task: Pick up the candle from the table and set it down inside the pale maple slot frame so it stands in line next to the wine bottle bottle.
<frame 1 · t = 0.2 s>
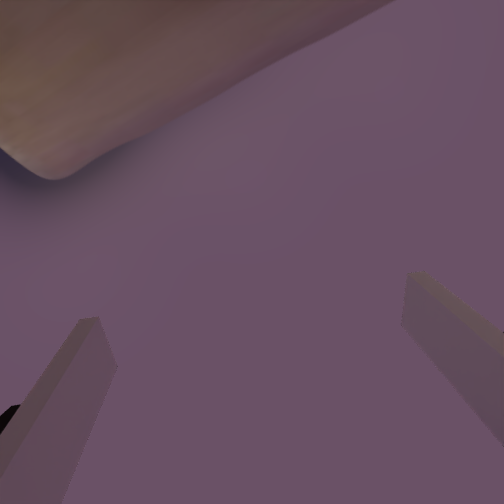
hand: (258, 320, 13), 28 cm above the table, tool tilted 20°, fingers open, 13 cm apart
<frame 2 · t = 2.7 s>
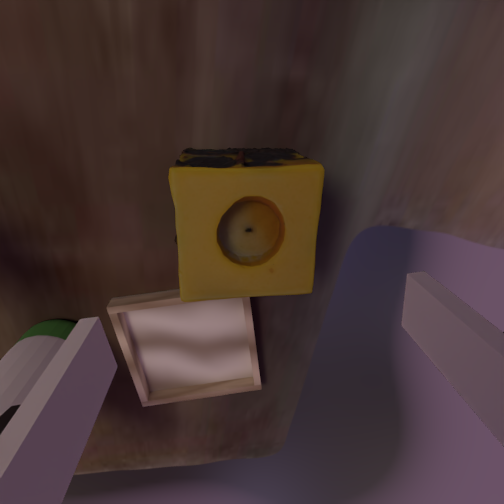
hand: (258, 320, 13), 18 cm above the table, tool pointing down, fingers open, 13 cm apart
wine bottle: (65, 341, 35), on the table
candle: (239, 200, 30), on the table
slot frame: (192, 341, 37), on the table
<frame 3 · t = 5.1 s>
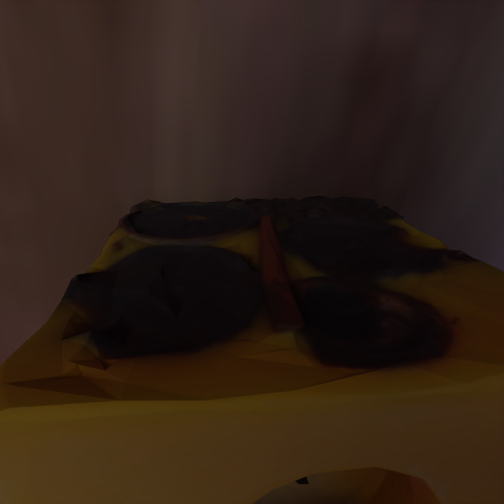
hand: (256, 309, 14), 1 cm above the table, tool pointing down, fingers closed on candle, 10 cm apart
candle: (254, 295, 15), on the table, touching gripper
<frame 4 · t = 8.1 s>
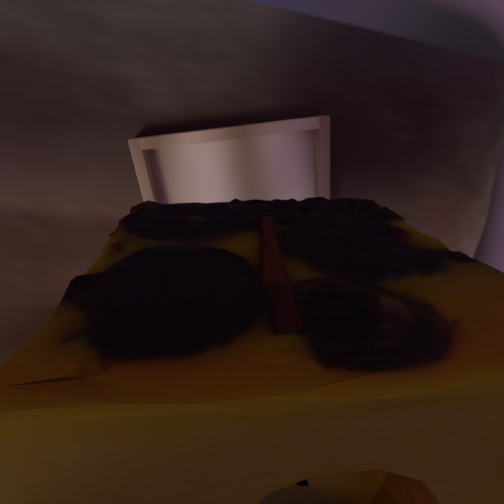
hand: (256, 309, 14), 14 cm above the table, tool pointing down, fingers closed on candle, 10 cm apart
candle: (254, 296, 15), point 13 cm above the table, touching gripper
slot frame: (240, 216, 27), on the table
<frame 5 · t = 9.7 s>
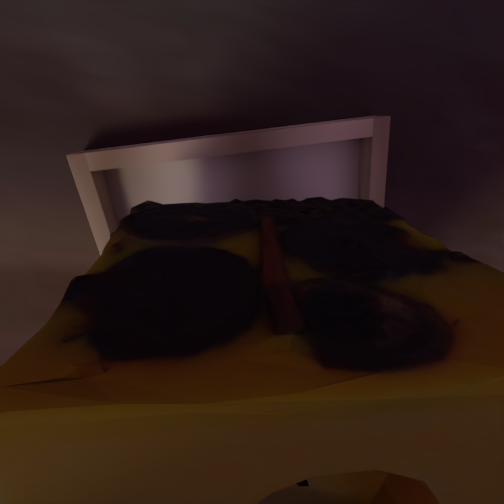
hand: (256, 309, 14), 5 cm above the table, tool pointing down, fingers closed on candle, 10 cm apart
candle: (254, 296, 15), point 4 cm above the table, touching gripper
slot frame: (247, 262, 19), on the table
when the fingers open (3 cm above the table, at t = 11.0 s): candle drops 2 cm, resting on slot frame.
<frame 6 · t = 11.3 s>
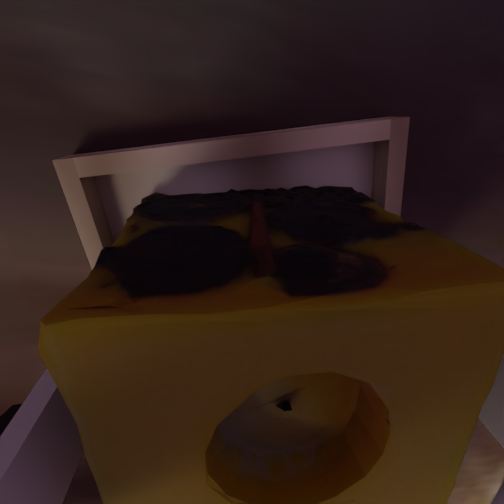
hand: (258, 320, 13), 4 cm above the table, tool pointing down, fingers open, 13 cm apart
candle: (251, 276, 17), resting on slot frame
slot frame: (250, 274, 17), on the table
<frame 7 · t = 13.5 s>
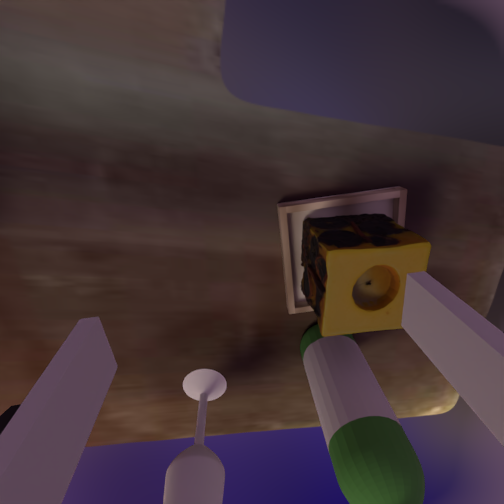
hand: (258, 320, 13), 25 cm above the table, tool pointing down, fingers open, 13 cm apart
champagne flute: (205, 384, 48), on the table
wine bottle: (324, 339, 46), on the table
candle: (339, 251, 39), resting on slot frame
slot frame: (339, 250, 40), on the table
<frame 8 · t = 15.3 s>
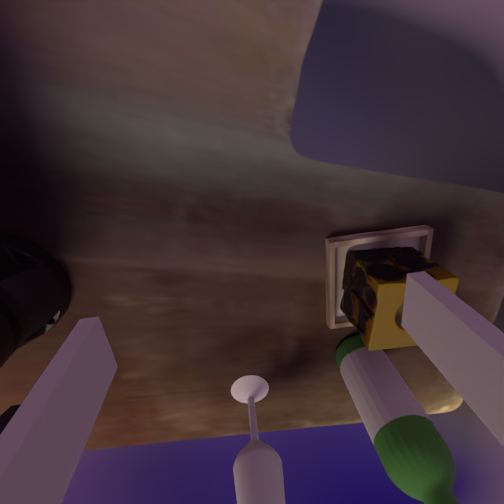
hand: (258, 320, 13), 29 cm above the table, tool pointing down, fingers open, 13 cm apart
champagne flute: (249, 388, 55), on the table
wine bottle: (354, 349, 53), on the table
candle: (373, 276, 47), resting on slot frame
slot frame: (373, 276, 47), on the table
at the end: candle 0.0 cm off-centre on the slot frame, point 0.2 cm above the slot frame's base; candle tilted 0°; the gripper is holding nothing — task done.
